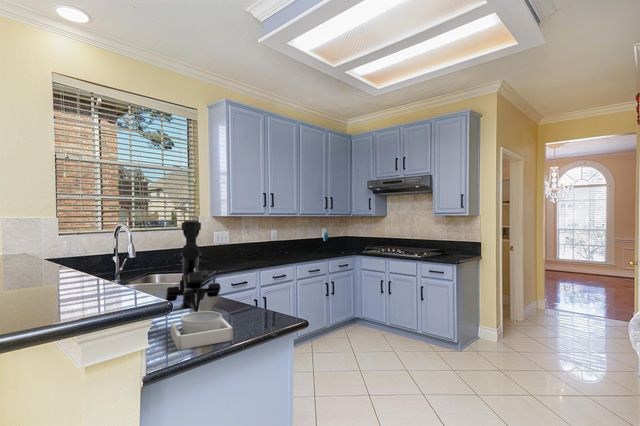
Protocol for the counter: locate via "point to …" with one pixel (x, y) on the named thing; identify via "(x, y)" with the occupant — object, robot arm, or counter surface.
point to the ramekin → (200, 322)
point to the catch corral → (202, 336)
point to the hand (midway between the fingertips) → (196, 311)
